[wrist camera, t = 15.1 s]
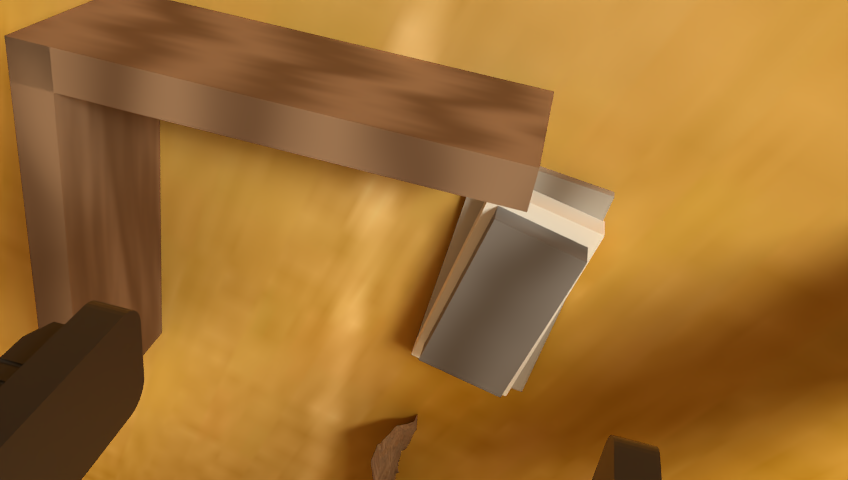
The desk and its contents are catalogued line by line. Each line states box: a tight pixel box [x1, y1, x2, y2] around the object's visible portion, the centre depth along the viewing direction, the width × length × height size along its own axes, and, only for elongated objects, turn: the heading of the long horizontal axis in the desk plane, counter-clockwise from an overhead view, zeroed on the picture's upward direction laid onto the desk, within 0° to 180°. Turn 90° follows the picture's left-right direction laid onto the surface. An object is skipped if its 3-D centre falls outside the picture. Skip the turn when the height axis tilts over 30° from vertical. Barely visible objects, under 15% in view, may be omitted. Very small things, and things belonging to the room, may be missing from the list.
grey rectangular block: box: [419, 206, 588, 397], centre depth 41 cm, size 5×10×2 cm, turn 158°
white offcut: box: [411, 190, 605, 396], centre depth 42 cm, size 6×12×2 cm, turn 159°
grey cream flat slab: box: [412, 166, 614, 392], centre depth 44 cm, size 7×14×2 cm, turn 164°
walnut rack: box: [5, 0, 554, 355], centre depth 40 cm, size 22×22×9 cm
